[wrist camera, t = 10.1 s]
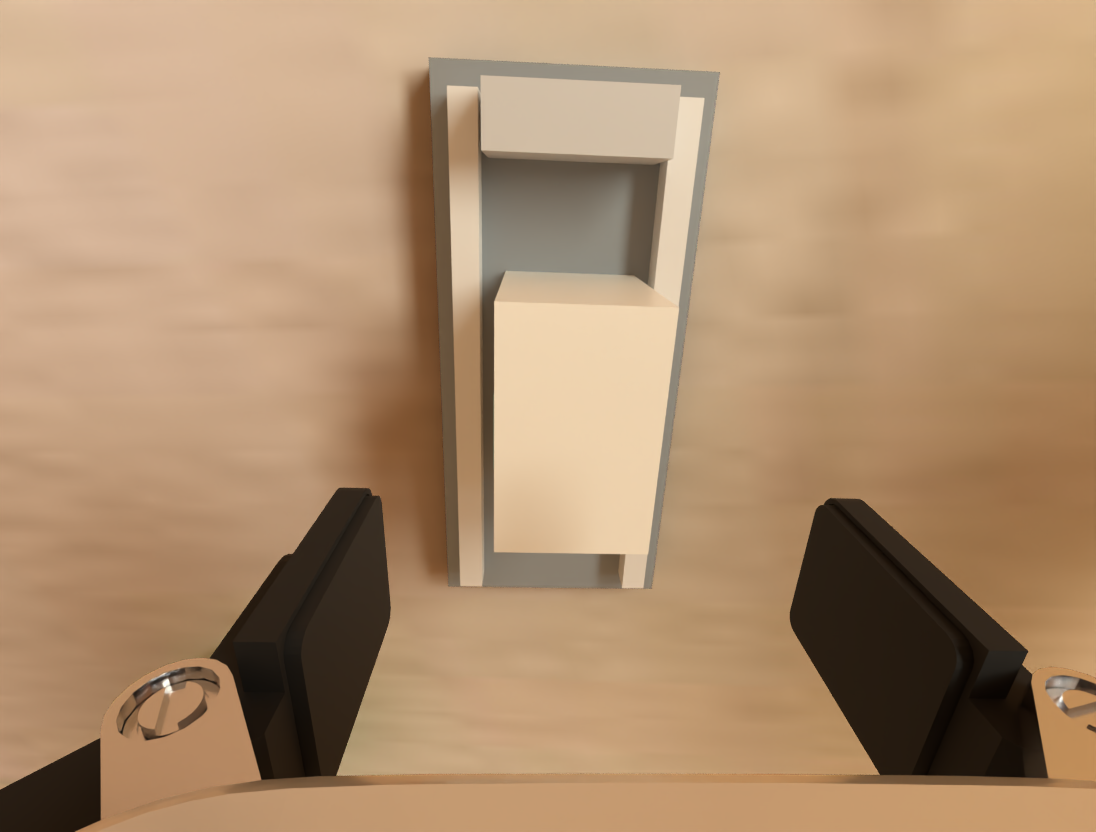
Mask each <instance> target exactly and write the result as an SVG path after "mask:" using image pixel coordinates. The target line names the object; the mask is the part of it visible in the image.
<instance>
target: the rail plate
mask: <svg viewBox="0 0 1096 832" xmlns="http://www.w3.org/2000/svg"><path fill="white" fill-rule="evenodd" d="M719 75H720V72H708V71H688V70H668V69H648V68H628V67H608V66H589V65H569V64H549V63H529V62H509V61H490V60H470V59H450V58H430V57H429V76H430V103H431V131H432V158H433V185H434V212H435V239H436V266H437V293H438V320H439V347H440V375H441V402H442V429H443V456H444V483H445V510H446V537H447V564H448V586H451V587H535V588H620V589H652V582H653V575H654V567H655V560H656V552H657V544H658V537H659V529H660V522H661V514H662V507H663V499H664V491H665V484H666V476H667V469H668V461H669V454H670V446H671V438H672V431H673V423H674V416H675V408H676V401H677V393H678V386H679V378H680V370H681V363H682V355H683V348H684V340H685V333H686V325H687V317H688V310H689V302H690V295H691V287H692V280H693V272H694V264H695V257H696V249H697V242H698V234H699V227H700V219H701V211H702V204H703V196H704V189H705V181H706V174H707V166H708V158H709V151H710V143H711V136H712V128H713V121H714V113H715V105H716V98H717V90H718V83H719ZM506 271H525V272H553V273H581V274H609V275H634V276H635V277H637V278H638V279H640V280H641V281H642V282H644V283H645V284H647V285H648V286H650V287H651V288H652V289H654V290H655V291H657V292H658V293H659V294H661V295H662V296H664V297H665V298H666V299H668V300H669V301H671V302H672V303H673V304H675V305H676V306H678V307H679V314H678V322H677V330H676V338H675V346H674V353H673V361H672V369H671V377H670V385H669V393H668V401H667V409H666V417H665V425H664V433H663V441H662V449H661V456H660V464H659V472H658V480H657V488H656V496H655V504H654V512H653V520H652V528H651V536H650V544H649V552H648V555H647V554H580V553H512V552H494V469H493V394H494V301H495V298H496V296H497V293H498V290H499V288H500V285H501V282H502V280H503V277H504V274H505V272H506Z"/></svg>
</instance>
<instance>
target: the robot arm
mask: <svg viewBox="0 0 1096 832" xmlns="http://www.w3.org/2000/svg"><path fill="white" fill-rule="evenodd" d="M390 610H391V606H390V594H389V582H388V570H387V559H386V547H385V536H384V524H383V513H382V502H381V498H380V496H372V493H371V490H370V489H369V488H339V489H338V490H337V491H336V492H335V494H334V495H333V496H332V498H331V499H330V501H329V502H328V504H327V505H326V507H325V508H324V510H323V511H322V512H321V514H320V515H319V517H318V518H317V520H316V521H315V523H314V524H313V525H312V527H311V528H310V530H309V531H308V533H307V534H306V536H305V537H304V539H303V540H302V541H301V543H300V544H299V546H298V547H297V549H296V550H295V552H294V553H293V554H288V555H285V556H283V557H282V558H281V560H280V561H279V562H278V563H277V565H276V566H275V567H274V569H273V570H272V572H271V573H270V574H269V576H268V577H267V579H266V580H265V581H264V583H263V584H262V586H261V587H260V588H259V590H258V591H257V593H256V594H255V595H254V597H253V598H252V600H251V601H250V602H249V604H248V605H247V607H246V608H245V610H244V611H243V612H242V614H241V615H240V617H239V618H238V619H237V621H236V622H235V624H234V625H233V626H232V628H231V629H230V631H229V632H228V633H227V635H226V636H225V638H224V639H223V640H222V642H221V643H220V645H219V646H218V647H217V649H216V650H215V652H214V653H213V654H212V656H211V657H210V659H207V658H194V659H185V660H181V661H178V662H174V663H171V664H168V665H165V666H163V667H160V668H158V669H156V670H154V671H152V672H150V673H148V674H146V675H144V676H143V677H141V678H140V679H138V680H137V681H136V682H134V683H133V684H131V685H130V686H128V687H127V688H126V689H125V690H124V691H123V692H122V693H121V694H120V695H119V696H118V697H117V698H116V699H115V700H114V701H113V702H112V704H111V706H110V707H109V709H108V710H107V712H106V713H105V715H104V718H103V722H102V726H101V730H100V734H101V738H100V739H98V740H96V741H94V742H92V743H90V744H88V745H86V746H84V747H82V748H80V749H78V750H76V751H74V752H72V753H70V754H69V755H67V756H65V757H63V758H61V759H59V760H57V761H55V762H53V763H51V764H49V765H47V766H45V767H43V768H41V769H39V770H38V771H36V772H34V773H32V774H30V775H28V776H26V777H24V778H22V779H20V780H18V781H16V782H14V783H12V784H10V785H8V786H6V787H5V788H3V789H1V790H0V832H1096V678H1095V677H1092V676H1090V675H1088V674H1084V673H1081V672H1077V671H1074V670H1071V669H1065V668H1057V667H1047V668H1040V669H1038V670H1037V671H1036V672H1034V673H1033V674H1031V673H1030V672H1029V671H1028V670H1027V669H1026V668H1025V667H1024V666H1023V665H1022V663H1023V661H1024V659H1025V657H1026V655H1027V653H1028V650H1026V649H1025V648H1024V647H1023V646H1022V645H1021V644H1020V643H1019V642H1018V641H1017V640H1015V639H1014V638H1013V637H1012V636H1011V635H1010V634H1009V633H1008V632H1007V631H1006V630H1004V629H1003V628H1002V627H1001V626H1000V625H999V624H998V623H997V622H996V621H995V620H994V619H992V618H991V617H990V616H989V615H988V614H987V613H986V612H985V611H984V610H983V609H981V608H980V607H979V606H978V605H977V604H976V603H975V602H974V601H973V600H972V599H970V598H969V597H968V596H967V595H966V594H965V593H964V592H963V591H962V590H961V589H959V588H958V587H957V586H956V585H955V584H954V583H953V582H952V581H951V580H950V579H948V578H947V577H946V576H945V575H944V574H943V573H942V572H941V571H940V570H939V569H937V568H936V567H935V566H934V565H933V564H932V563H931V562H930V561H929V560H928V559H926V558H925V557H924V556H923V555H922V554H921V553H920V552H919V551H918V550H917V549H915V548H914V547H913V546H912V545H911V544H910V543H909V542H908V541H907V540H906V539H904V538H903V537H902V536H901V535H900V534H899V533H898V532H897V531H896V530H895V529H893V528H892V527H891V526H890V525H889V524H888V523H887V522H886V521H885V520H884V519H883V518H881V517H880V516H879V515H878V514H877V513H876V512H875V511H874V510H873V509H872V508H870V507H869V506H868V505H867V504H866V503H865V502H864V501H862V500H860V499H838V498H830V499H828V500H827V501H826V502H825V503H824V505H820V506H818V508H817V509H816V512H815V515H814V519H813V523H812V527H811V531H810V535H809V539H808V543H807V547H806V550H805V554H804V558H803V562H802V566H801V570H800V574H799V578H798V582H797V586H796V590H795V594H794V598H793V602H792V606H791V610H790V622H791V626H792V629H793V631H794V633H795V634H796V636H797V638H798V639H799V641H800V643H801V644H802V646H803V648H804V649H805V651H806V653H807V654H808V656H809V658H810V659H811V661H812V663H813V664H814V666H815V668H816V669H817V671H818V673H819V674H820V676H821V677H822V679H823V681H824V682H825V684H826V686H827V687H828V689H829V691H830V692H831V694H832V696H833V697H834V699H835V701H836V702H837V704H838V706H839V707H840V709H841V711H842V712H843V714H844V716H845V717H846V719H847V721H848V722H849V724H850V726H851V727H852V729H853V731H854V732H855V734H856V736H857V737H858V739H859V741H860V742H861V744H862V745H863V747H864V749H865V750H866V752H867V754H868V755H869V757H870V759H871V760H872V762H873V764H874V765H875V767H876V769H877V770H878V772H879V774H880V775H820V774H408V775H359V776H336V774H337V772H338V769H339V766H340V763H341V760H342V757H343V754H344V751H345V748H346V746H347V743H348V740H349V737H350V734H351V731H352V728H353V725H354V722H355V720H356V717H357V714H358V711H359V708H360V705H361V702H362V699H363V697H364V694H365V691H366V688H367V685H368V682H369V679H370V676H371V673H372V671H373V668H374V665H375V662H376V659H377V656H378V653H379V650H380V647H381V645H382V642H383V639H384V636H385V633H386V630H387V627H388V624H389V619H390Z"/></svg>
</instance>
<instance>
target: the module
mask: <svg viewBox="0 0 1096 832" xmlns="http://www.w3.org/2000/svg"><path fill="white" fill-rule="evenodd" d="M678 314H679V307H678V306H676V305H675V304H673V303H672V302H671V301H669V300H668V299H666V298H665V297H664V296H662V295H661V294H659V293H658V292H657V291H655V290H654V289H652V288H651V287H650V286H648V285H647V284H645V283H644V282H642V281H641V280H640V279H638V278H637V277H635V276H634V275H609V274H581V273H553V272H525V271H506V272H505V274H504V277H503V280H502V282H501V285H500V288H499V290H498V293H497V296H496V298H495V301H494V394H493V469H494V552H512V553H580V554H647V555H648V552H649V544H650V536H651V528H652V520H653V512H654V504H655V496H656V488H657V480H658V472H659V464H660V456H661V449H662V441H663V433H664V425H665V417H666V409H667V401H668V393H669V385H670V377H671V369H672V361H673V353H674V346H675V338H676V330H677V322H678Z"/></svg>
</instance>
